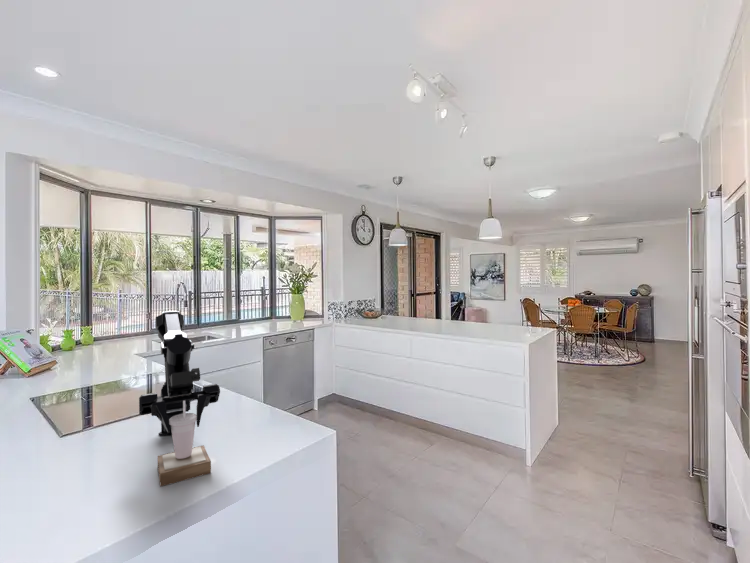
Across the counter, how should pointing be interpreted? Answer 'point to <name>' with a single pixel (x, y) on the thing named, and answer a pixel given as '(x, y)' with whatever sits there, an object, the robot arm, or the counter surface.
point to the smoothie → (183, 432)
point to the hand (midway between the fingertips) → (183, 428)
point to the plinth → (183, 466)
